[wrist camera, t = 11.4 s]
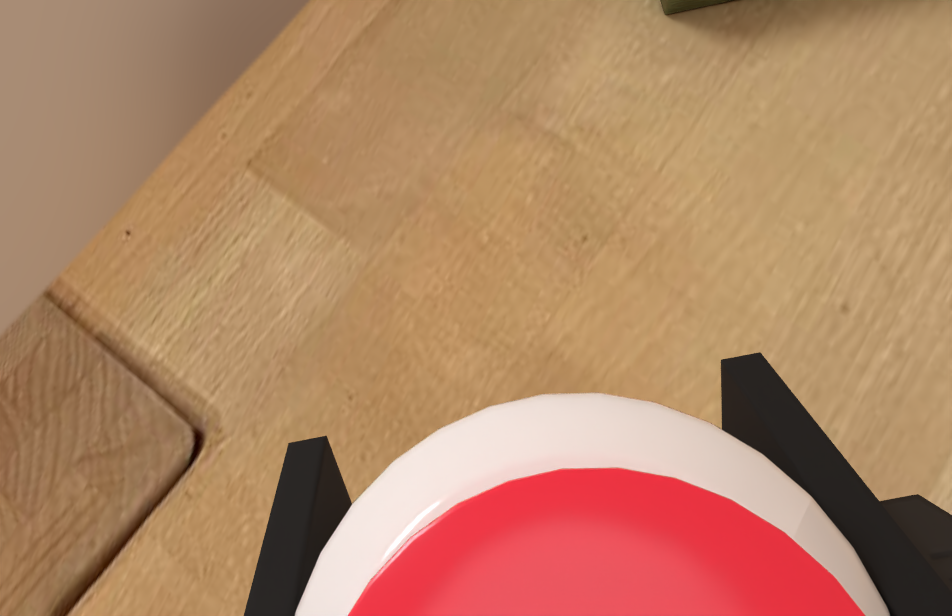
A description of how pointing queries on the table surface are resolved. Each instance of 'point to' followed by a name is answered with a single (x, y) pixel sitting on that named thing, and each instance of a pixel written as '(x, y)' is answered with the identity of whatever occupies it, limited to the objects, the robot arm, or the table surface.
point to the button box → (687, 4)
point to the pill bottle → (586, 523)
